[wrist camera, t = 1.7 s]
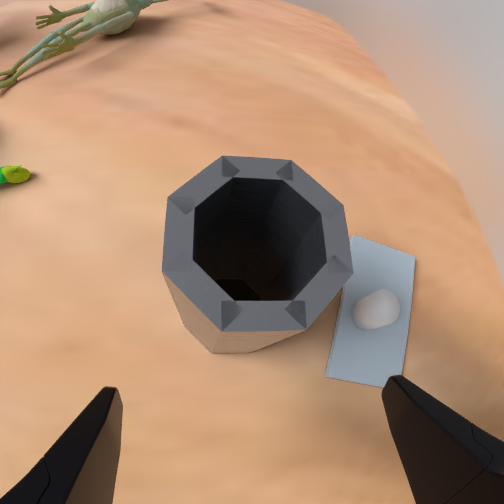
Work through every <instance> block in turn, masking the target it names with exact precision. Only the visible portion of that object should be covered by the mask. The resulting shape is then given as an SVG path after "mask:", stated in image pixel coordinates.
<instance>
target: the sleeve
mask: <svg viewBox="0 0 504 504" xmlns="http://www.w3.org/2000/svg"><path fill="white" fill-rule="evenodd" d="M162 273H163V275H164V278H165V280H166V283H167V285H168V288H169V290H170V293H171V295H172V298H173V300H174V302H175V305H176V307H177V310H178V312H179V314H180V317H181V319H182V321H183V324H184V326H185V327H186V328H187V329H188V330H189V331H190V332H191V333H192V334H193V335H194V336H195V337H196V338H197V339H198V340H199V341H200V342H201V343H202V344H203V345H204V346H205V347H206V348H207V349H208V350H209V351H210V352H211V353H250V352H253V351H255V350H258V349H261V348H263V347H266V346H268V345H271V344H274V343H276V342H279V341H281V340H284V339H286V338H289V337H291V336H293V335H296V334H298V333H301V332H303V331H305V330H307V329H308V328H309V327H310V325H311V324H312V323H313V322H314V321H315V320H316V318H317V317H318V316H319V315H320V314H321V313H322V311H323V310H324V309H325V308H326V307H327V305H328V304H329V303H330V302H331V301H332V299H333V298H334V297H335V296H336V294H337V293H338V292H339V291H340V290H341V288H342V287H343V286H344V285H345V283H346V282H347V281H348V280H349V278H350V277H351V276H352V274H353V273H354V272H353V265H352V257H351V250H350V243H349V237H348V230H347V224H346V218H345V212H344V206H343V204H341V203H340V202H339V201H338V200H337V199H336V198H335V197H334V196H332V195H331V194H330V193H329V192H328V191H327V190H326V189H324V188H323V187H322V186H321V185H320V184H319V183H318V182H316V181H315V180H314V179H313V178H312V177H311V176H309V175H308V174H307V173H306V172H305V171H304V170H302V169H301V168H300V167H299V166H298V165H296V164H295V163H294V162H293V161H291V160H283V159H270V158H255V157H238V156H221V157H220V158H219V159H217V160H216V161H214V162H213V163H212V164H210V165H209V166H208V167H206V168H205V169H204V170H202V171H201V172H200V173H198V174H197V175H196V176H194V177H193V178H192V179H190V180H189V181H188V182H187V183H185V184H184V185H183V186H181V187H180V188H179V189H178V190H176V191H175V192H174V193H172V194H171V195H170V196H169V197H168V199H167V210H166V221H165V233H164V247H163V262H162ZM216 279H242V280H243V281H244V282H245V283H246V284H247V285H248V286H249V287H250V288H251V289H252V290H253V291H254V292H255V293H256V294H257V295H258V296H260V301H234V300H233V299H232V298H231V297H230V296H229V295H228V294H227V293H226V292H225V291H224V290H223V289H222V288H221V287H220V286H219V285H218V284H217V283H215V282H214V281H215V280H216Z"/></svg>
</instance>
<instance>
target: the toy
mask: <svg viewBox="0 0 504 504" xmlns="http://www.w3.org/2000/svg"><path fill="white" fill-rule="evenodd" d="M163 1H167V0H97V1H96V2H92V3H89V4H85V5H82V6H79V7H76V8H74V9H71V10H68V11H64V12H60V11H58V10H57V9H55V8H53V7H52V6H51V5H50V6H49V8H50V10H51V11H52V12H53V13H52V14H51V15H45V16H37V17H36V20H37V19H44V18H49V19H47V20H42V21H39V22H36V25H39V24H42V23H45V22H48V23H46V24H44V25H41V26H39V27H37V29H41V28H43V27H45V26H48V25H50V24H54V23H58V22H60V21H61V20H62V19H63V18H65V17H68V16H71V15H74V14H78V13H83V12H86V11H87V10H89V11H88V13H87V14H86V16H84V17H82V18H80V19H78V20H75V21H73V22H71V23H69V24H67V25H65V26H63V27H61V28H59V29H57V30H56V31H54V32H52V33H50V34H49V35H47V36H46V37H44V38H43V39H42V40H41V41H40V42H39V43H37V44H36V45H35V46H34V47H33V48H32V49H31V50H30V51H29V52H28V53H27V54H25V55H24V56H23V57H22V58H21V59H20V60H19V61H18V62H17V63H16V64H15V65H14V66H13V67H12V68H11V69H10V70H7V71H4V72H0V76H2V75H13V77H11V78H10V79H8V80H4V81H0V89H1V88H5V87H8V86H12V85H14V84H15V83H16V81H17V78H18V77H19V76H21V75H22V74H23V73H24V72H26V71H27V70H28V69H30V68H31V67H32V66H34V65H35V64H37V63H38V62H40V61H41V60H42V59H48V58H51V57H53V56H56V55H59V54H62V53H64V52H68V51H72V50H73V49H74V47H75V46H77V45H78V44H80V43H82V42H84V41H86V40H88V39H90V38H92V37H94V36H96V35H99V34H119V33H121V32H122V31H124V30H126V29H129V28H130V27H131V26H132V24H133V23H134V22H135V21H136V20H137V18H138V15H139V13H140V11H141V10H142V9H144V8H146V7H148V6H150V5H151V4H152V3H157V2H163ZM80 22H82V24H81V26H79V27H77V28H75V29H73V30H71V31H69V32H67V33H65V32H66V31H68V30H69V29H71V28H73V27H74V26H76V25H77V24H79V23H80ZM84 31H87V32H85V33H84V34H82V35H80V36H78V37H76V38H74V39H73V38H71V37H72V36H74V35H76V34H77V33H79V32H84ZM63 33H65V34H63ZM58 36H60V37H58ZM57 37H58V38H57ZM57 47H58V48H57ZM55 51H58V52H56V53H54V54H51V53H52V52H55ZM36 53H37V54H36ZM35 54H36V55H35ZM33 55H35V56H34V57H33V58H32V59H30V60H29V61H28V62H27V63H26V64H25V65H24V66H23V67H22V68H21V69H19V70H18V71H17V72H16V70H17V69H18V68H19V67H20V66H21V65H22V64H23V63H24V62H25V61H27V60H28V59H29V58H31V57H32V56H33ZM15 72H16V73H15Z"/></svg>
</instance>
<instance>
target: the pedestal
mask: <svg viewBox="0 0 504 504" xmlns="http://www.w3.org/2000/svg"><path fill="white" fill-rule="evenodd" d="M350 250H351V257H352V265H353V272H354V273H353V274H352V276H351V277H350V278H349V280H348V281H347V282H346V283H345V285H344V286H343V289H342V295H341V300H340V306H339V311H338V316H337V321H336V326H335V331H334V336H333V341H332V345H331V350H330V355H329V359H328V363H327V368H326V372H325V376H324V377H329V378H333V379H338V380H343V381H348V382H354V383H359V384H365V385H370V386H376V387H382V388H384V386H385V384H386V382H387V380H388V378H389V377H390V376H393V375H401V373H402V368H403V362H404V356H405V350H406V343H407V336H408V329H409V321H410V313H411V303H412V293H413V281H414V267H415V257H414V256H412V255H409V254H406V253H404V252H401V251H398V250H395V249H393V248H390V247H387V246H384V245H382V244H379V243H376V242H373V241H370V240H368V239H365V238H362V237H359V236H356V235H353V236H352V237H351V239H350Z"/></svg>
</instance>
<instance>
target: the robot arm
mask: <svg viewBox="0 0 504 504" xmlns="http://www.w3.org/2000/svg"><path fill="white" fill-rule="evenodd" d="M382 400H383V404H384V408H385V412H386V415H387V419H388V423H389V427H390V431H391V434H392V437H393V439H394V442H395V445H396V448H397V450H398V453H399V456H400V459H401V461H402V464H403V467H404V470H405V473H406V476H407V478H408V481H409V484H410V487H411V490H412V493H413V496H414V499H415V502H416V504H504V442H503V441H501V440H499V439H497V438H496V437H494V436H492V435H490V434H488V433H487V432H485V431H484V430H482V429H480V428H479V427H477V426H476V425H474V424H473V423H471V422H470V421H468V420H467V419H465V418H464V417H462V416H461V415H459V414H458V413H456V412H455V411H453V410H452V409H450V408H449V407H447V406H446V405H444V404H443V403H441V402H440V401H439V400H437V399H436V398H434V397H433V396H431V395H430V394H428V393H427V392H425V391H424V390H422V389H421V388H419V387H418V386H416V385H415V384H414V383H412V382H411V381H409V380H408V379H406V378H405V377H403V376H402V375H393V376H390V377H389V378H388V380H387V382H386V384H385V386H384V388H383V390H382ZM122 413H123V405H122V401H121V398H120V395H119V391H118V389H117V388H116V387H108V386H106V387H104V388H103V389H102V390H101V391H100V392H99V393H98V394H97V395H96V396H95V398H94V399H93V400H92V401H91V402H90V403H89V404H88V405H87V407H86V408H85V409H84V410H83V411H82V412H81V413H80V415H79V416H78V417H77V418H76V419H75V420H74V421H73V422H72V424H71V425H70V426H69V427H68V428H67V429H66V430H65V432H64V433H63V434H62V435H61V436H60V437H59V439H58V440H57V441H56V442H55V443H54V444H53V445H52V447H51V448H50V449H49V450H48V451H47V452H46V454H45V455H44V457H42V458H41V459H40V460H39V462H38V463H37V464H36V465H35V466H34V467H33V468H32V469H31V470H30V472H29V473H28V474H27V475H26V476H25V477H24V478H23V479H21V480H20V481H19V482H18V483H17V484H16V485H15V486H14V487H13V488H12V489H11V490H9V491H8V492H7V493H6V494H5V495H4V496H3V497H2V498H0V504H112V503H113V495H114V488H115V481H116V475H117V468H118V462H119V456H120V447H121V429H122Z"/></svg>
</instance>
